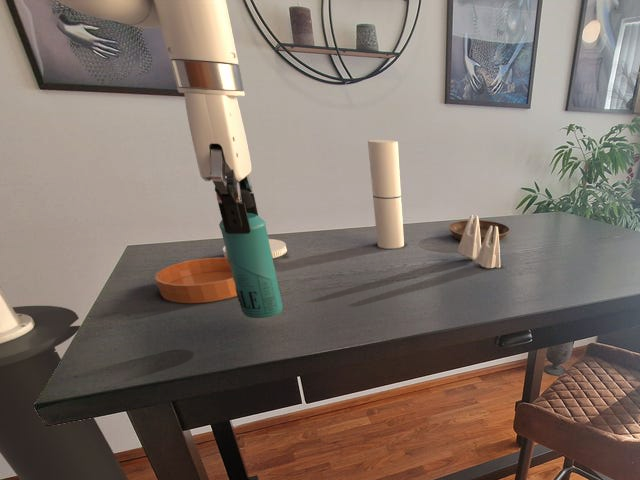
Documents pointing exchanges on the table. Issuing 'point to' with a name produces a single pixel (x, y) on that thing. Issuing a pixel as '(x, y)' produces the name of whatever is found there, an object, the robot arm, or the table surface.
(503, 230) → the plant saucer
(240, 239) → the beverage bottle
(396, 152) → the cylindrical container
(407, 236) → the table surface
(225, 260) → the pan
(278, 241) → the plastic lid
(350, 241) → the table surface
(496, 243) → the shaker set
